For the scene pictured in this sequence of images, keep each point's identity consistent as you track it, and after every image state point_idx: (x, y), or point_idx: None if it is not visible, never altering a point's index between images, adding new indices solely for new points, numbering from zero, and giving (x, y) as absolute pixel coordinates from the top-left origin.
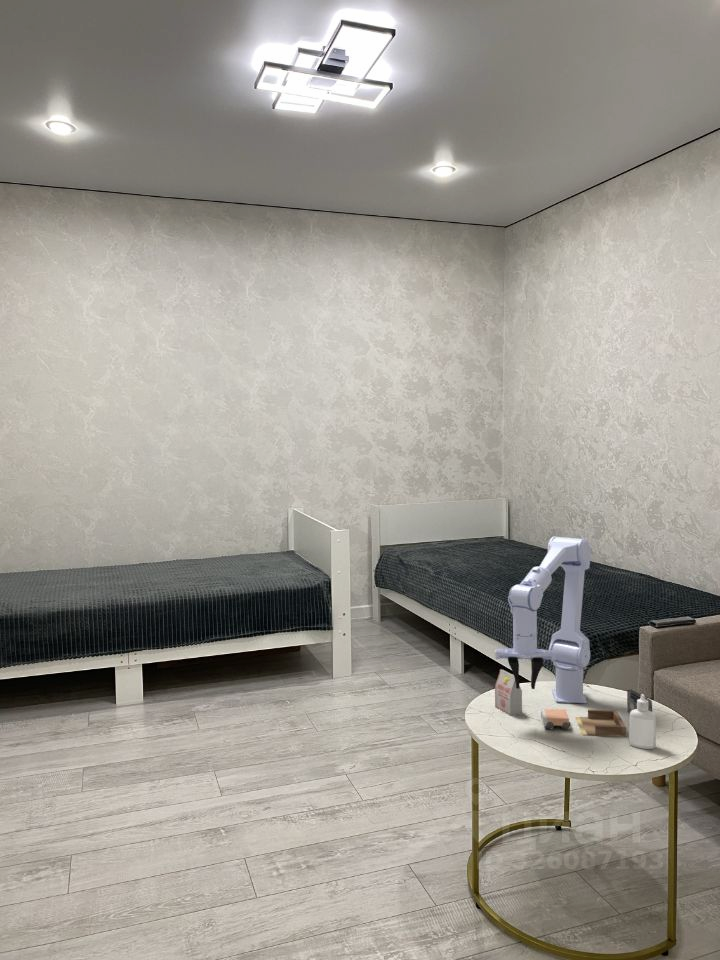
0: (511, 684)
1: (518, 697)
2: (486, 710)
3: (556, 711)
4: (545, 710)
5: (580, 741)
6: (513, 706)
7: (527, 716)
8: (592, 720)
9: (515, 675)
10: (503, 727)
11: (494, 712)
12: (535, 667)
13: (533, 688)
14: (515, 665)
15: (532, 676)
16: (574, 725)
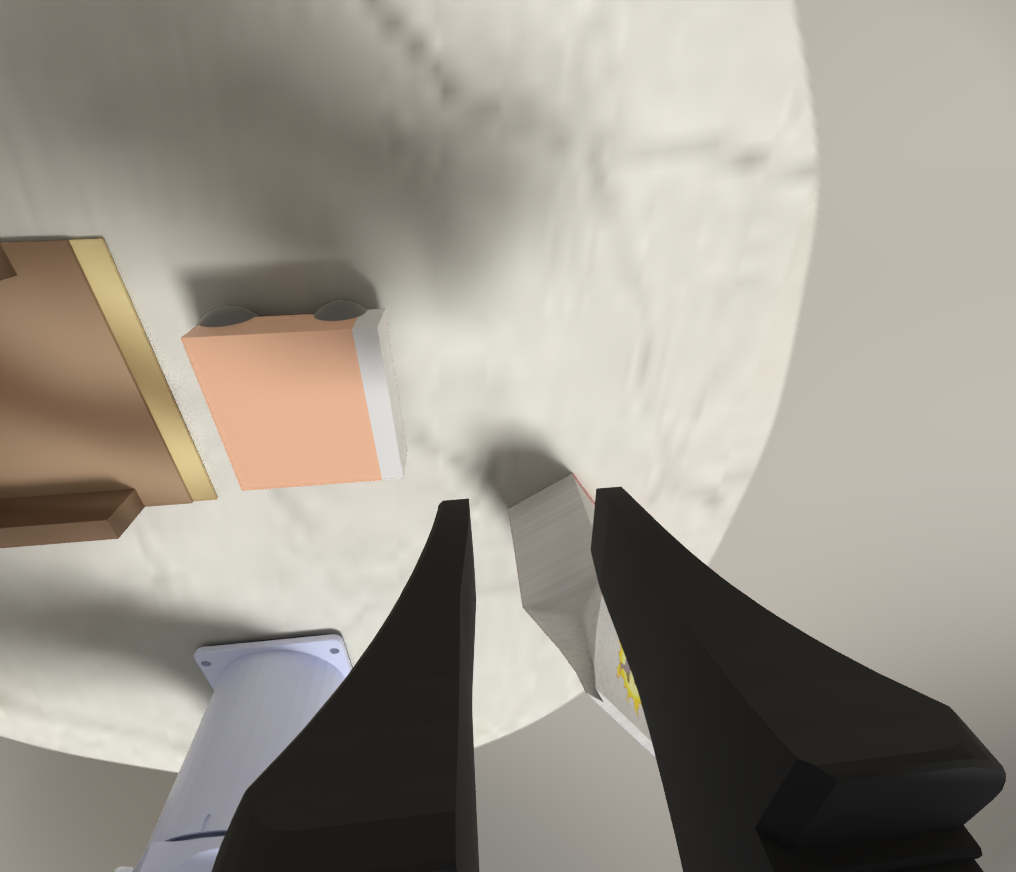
0: (606, 629)
1: (540, 565)
2: (680, 513)
3: (296, 452)
4: (371, 457)
5: (87, 103)
6: (563, 513)
7: (482, 476)
8: (103, 467)
9: (709, 582)
10: (637, 308)
11: (646, 497)
12: (407, 741)
13: (451, 503)
14: (850, 725)
15: (463, 616)
16: (202, 396)
